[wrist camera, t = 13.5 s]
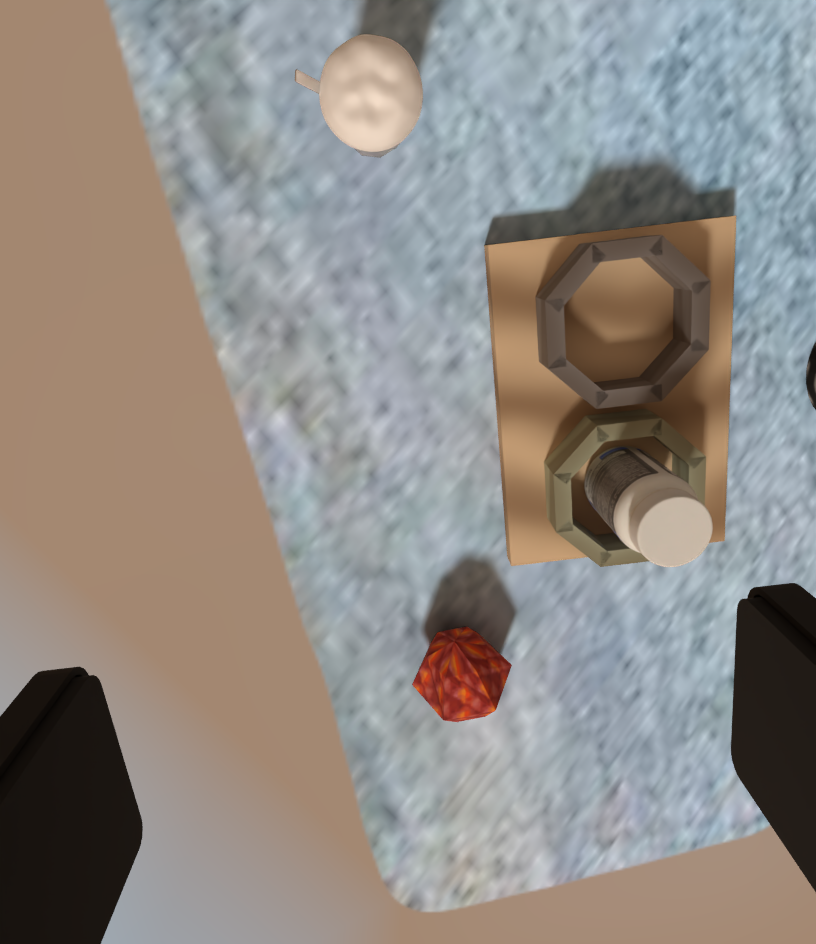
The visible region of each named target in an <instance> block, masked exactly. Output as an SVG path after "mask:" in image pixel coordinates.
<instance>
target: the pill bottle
mask: <svg viewBox="0 0 816 944" xmlns="http://www.w3.org/2000/svg"><path fill="white" fill-rule="evenodd" d="M584 489H585V493H586V496H587V499H588V501H589V502H590V504H591V505H592V507H593V508H594V509H595V510H596V511H597V512H598V513H599V515H600V516H601V517H602V518H603V519H604V521H605V522H606V523H607V524H608V525H609V526H610V528H611V529H612V530H613V531H614V533H615V534H616V535H617V536H618V537H619V538H620V540H621V541H622V542H623V543H624V544H625V545H626V546H628V547H629V548H630V549H632V550H634V551H636V552H639V553H641V554H642V555H643V556H644V557H645V558H646V559H648V560H649V561H651V562H652V563H654V564H657V565H660V566H664V567H676V566H680V565H684V564H686V563H688V562H690V561H692V560H694V559H695V558H697V557H698V556H699V555H700V554H701V553H702V552H703V551H704V549H705V548H706V547H707V545H708V543H709V541H710V539H711V535H712V530H713V523H712V518H711V515H710V513H709V511H708V509H707V508H706V507H705V506H704V504H702V503H701V502H700V501H699V500H698V497H697V495H696V493H695V491H694V490H693V489H692V487H691V486H690V485H689V484H688V483H687V482H686V481H684V480H683V479H682V478H680V477H679V476H677V475H676V474H675V473H673V472H672V471H671V470H669V469H668V468H667V467H665V466H664V465H663V464H661V463H660V462H659V461H657V460H656V459H655V458H653V457H652V456H651V455H649V454H648V453H647V452H645V451H643V450H641V449H639V448H636V447H632V446H617V447H613V448H610V449H608V450H606V451H604V452H602V453H601V454H600V455H599V456H597V457H596V458H595V459H594V460H593V462H592V463H591V464H590V466H589V468H588V470H587V473H586V476H585V482H584Z"/></svg>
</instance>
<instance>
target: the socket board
mask: <svg viewBox="0 0 816 944" xmlns="http://www.w3.org/2000/svg"><path fill="white" fill-rule="evenodd" d="M735 234H736V216H728V217H718V218H710V219H702V220H693V221H685V222H677V223H668V224H660V225H651V226H643V227H635V228H626V229H618V230H609V231H601V232H593V233H584V234H576V235H567V236H559V237H551V238H542V239H534V240H526V241H517V242H509V243H500V244H492V245H484V247H485V261H486V274H487V288H488V301H489V315H490V328H491V342H492V355H493V369H494V382H495V396H496V409H497V423H498V436H499V450H500V463H501V477H502V490H503V504H504V518H505V531H506V545H507V556H508V559H509V561H510V564H511V566H515V565H524V564H532V563H541V562H549V561H558V560H566V559H575V558H583V557H589V558H590V559H591V560H593V561H594V562H595V563H596V564H598V565H599V566H600V567H604V566H612V565H621V564H629V563H638V562H646V561H649V560H648V559H646V558H645V557H644V556H643V555H642V554H641V553H639V552H636V551H634V550H632V549H630V548H629V547H628V546H626V545H625V544H624V543H623V542H622V541H621V540H620V538H619V537H618V536H617V535H616V534H615V533H614V531H613V530H612V529H611V528H610V526H609V525H608V524H607V523H606V522H605V521H604V519H603V518H602V517H601V516H600V515H599V513H598V512H597V511H596V510H595V509H594V508H593V507H592V505H591V504H590V502H589V501H588V499H587V496H586V493H585V489H584V482H585V476H586V473H587V470H588V468H589V466H590V464H591V463H592V462H593V460H594V459H595V458H596V457H597V456H599V455H600V454H601V453H602V452H604V451H606V450H608V449H610V448H613V447H617V446H632V447H636V448H639V449H641V450H643V451H645V452H647V453H648V454H649V455H651V456H652V457H653V458H655V459H656V460H657V461H659V462H660V463H661V464H663V465H664V466H665V467H667V468H668V469H669V470H671V471H672V472H673V473H675V474H676V475H677V476H679V477H680V478H682V479H683V480H684V481H686V482H687V483H688V484H689V485H690V486H691V487H692V489H693V490H694V491H695V493H696V495H697V497H698V500H699V501H700V502H701V503H702V504H704V506H705V507H706V508H707V509H708V511H709V513H710V515H711V518H712V523H713V530H712V535H711V539H710V541H709V543H711V542H719V541H725V513H726V485H727V457H728V430H729V402H730V374H731V346H732V318H733V290H734V262H735Z"/></svg>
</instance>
